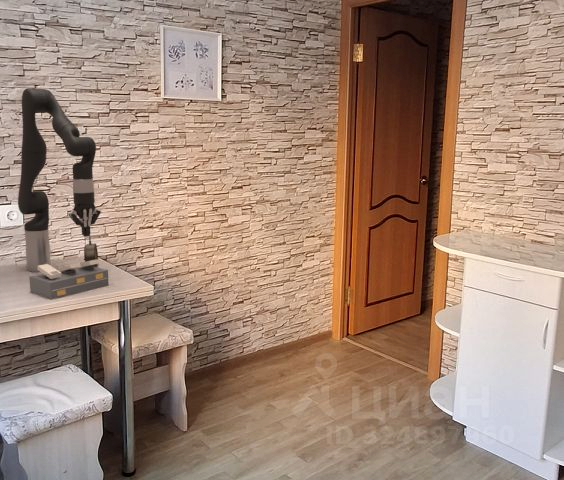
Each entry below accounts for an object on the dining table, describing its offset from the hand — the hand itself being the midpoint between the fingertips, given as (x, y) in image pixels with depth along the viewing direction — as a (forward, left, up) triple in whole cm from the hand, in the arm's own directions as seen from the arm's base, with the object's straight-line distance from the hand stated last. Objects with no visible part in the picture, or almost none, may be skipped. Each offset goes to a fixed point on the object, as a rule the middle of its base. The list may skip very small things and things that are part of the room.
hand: (86, 236), depth 222 cm
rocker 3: (0, 0, -11) cm, 11 cm away
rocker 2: (0, -8, -11) cm, 13 cm away
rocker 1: (0, -16, -11) cm, 19 cm away
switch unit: (0, -8, -19) cm, 21 cm away
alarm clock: (-16, +12, -19) cm, 28 cm away
